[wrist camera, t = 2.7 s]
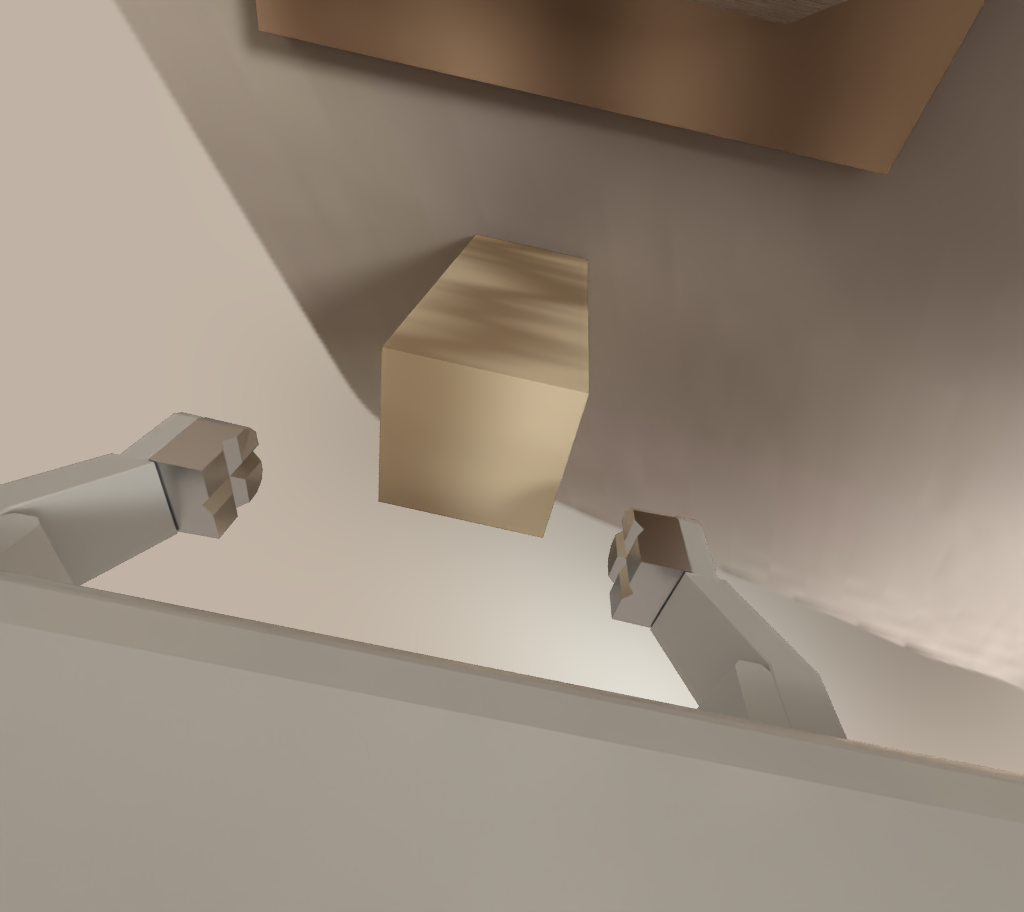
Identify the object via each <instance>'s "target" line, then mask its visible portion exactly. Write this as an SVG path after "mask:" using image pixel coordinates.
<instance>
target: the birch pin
mask: <svg viewBox="0 0 1024 912" xmlns="http://www.w3.org/2000/svg"><path fill="white" fill-rule="evenodd" d="M588 395H589V346H588V260H587V259H583V258H578V257H574V256H570V255H565V254H561V253H556V252H552V251H548V250H543V249H539V248H534V247H530V246H526V245H521V244H517V243H512V242H508V241H504V240H499V239H495V238H490V237H486V236H482V235H477V234H476V235H475V236H474V238H473V239H472V240H471V241H470V242H469V244H468V245H467V246H466V247H465V248H464V249H463V251H462V252H461V253H460V254H459V255H458V257H457V258H456V259H455V260H454V261H453V263H452V264H451V265H450V266H449V267H448V269H447V270H446V271H445V272H444V273H443V275H442V276H441V277H440V278H439V279H438V281H437V282H436V283H435V284H434V285H433V287H432V288H431V289H430V290H429V291H428V292H427V294H426V295H425V296H424V297H423V298H422V300H421V301H420V302H419V303H418V304H417V306H416V307H415V308H414V309H413V310H412V312H411V313H410V314H409V315H408V316H407V318H406V319H405V320H404V321H403V322H402V324H401V325H400V326H399V327H398V328H397V329H396V331H395V332H394V333H393V334H392V335H391V337H390V338H389V339H388V340H387V341H386V343H385V344H384V345H383V346H382V358H381V406H380V454H379V457H380V458H379V502H383V503H388V504H393V505H397V506H402V507H406V508H411V509H415V510H419V511H424V512H429V513H433V514H438V515H442V516H447V517H451V518H456V519H460V520H465V521H469V522H474V523H478V524H483V525H487V526H492V527H496V528H501V529H505V530H510V531H515V532H519V533H524V534H528V535H532V536H537V537H543V536H544V532H545V529H546V526H547V523H548V520H549V517H550V514H551V511H552V508H553V505H554V501H555V498H556V495H557V492H558V489H559V486H560V483H561V480H562V476H563V473H564V470H565V467H566V464H567V461H568V458H569V455H570V451H571V448H572V445H573V442H574V439H575V436H576V433H577V430H578V426H579V423H580V420H581V417H582V414H583V411H584V408H585V405H586V401H587V398H588Z"/></svg>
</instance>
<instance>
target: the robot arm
mask: <svg viewBox="0 0 1024 912" xmlns="http://www.w3.org/2000/svg"><path fill="white" fill-rule="evenodd" d="M257 446H258V440H257V435H256V432H255V431H254V430H252V429H251V428H248V427H245V426H240V425H236V424H232V423H228V422H223V421H219V420H215V419H210V418H206V417H205V418H203V417H200V416H196V415H192V414H187V413H182V412H181V413H175V414H173V415H171V416H170V417H169V418H167V419H166V420H165V421H163V422H162V423H161V424H159V425H158V426H157V427H155V428H154V429H153V430H151V431H150V432H149V433H147V434H146V435H145V436H143V437H142V438H141V439H140V440H138V441H137V442H136V443H134V444H133V445H132V446H130V447H129V448H128V449H126V450H125V451H124V452H122V453H121V454H120V455H118V454H112V453H111V454H107V455H104V456H100V457H97V458H93V459H90V460H86V461H83V462H79V463H75V464H72V465H69V466H65V467H61V468H58V469H54V470H51V471H47V472H44V473H40V474H37V475H33V476H30V477H26V478H23V479H19V480H16V481H12V482H9V483H5V484H1V485H0V912H1024V774H1020V773H1014V772H1009V771H1004V770H999V769H994V768H989V767H983V766H979V765H974V764H969V763H964V762H959V761H953V760H948V759H943V758H938V757H933V756H928V755H923V754H918V753H913V752H908V751H903V750H898V749H893V748H888V747H883V746H878V745H873V744H868V743H863V742H858V741H852V740H848V739H847V738H846V735H845V733H844V731H843V728H842V726H841V724H840V722H839V719H838V717H837V714H836V712H835V710H834V707H833V705H832V703H831V700H830V698H829V696H828V693H827V691H826V689H825V686H824V684H823V682H822V679H821V677H820V675H819V674H818V673H817V672H816V671H815V670H814V669H813V668H812V667H811V666H810V665H809V664H808V663H807V662H806V661H805V660H804V659H803V658H802V657H801V656H800V655H799V654H798V653H797V652H796V651H795V650H794V649H793V648H792V647H791V646H790V645H789V644H788V643H787V642H786V641H785V640H784V639H783V638H782V637H781V636H780V635H779V634H778V633H777V632H776V631H775V630H774V629H773V628H772V627H771V626H770V625H769V624H768V623H767V622H766V621H765V620H764V619H763V618H762V617H761V616H760V615H759V614H758V613H757V612H756V611H755V610H754V609H753V608H752V607H751V606H750V605H749V604H748V603H747V602H746V601H745V600H744V599H743V598H742V597H741V596H740V595H739V594H738V593H737V592H736V591H735V590H734V589H733V588H732V587H731V586H730V585H729V584H728V583H727V582H726V581H725V580H721V579H718V576H717V573H716V570H715V566H714V563H713V560H712V557H711V554H710V551H709V547H708V544H707V541H706V538H705V535H704V532H703V529H702V525H701V523H700V522H699V521H698V520H692V519H687V518H682V517H676V516H675V517H673V516H668V515H664V514H659V513H654V512H649V511H644V510H639V509H634V508H629V509H628V510H627V511H626V513H625V515H624V517H623V519H622V526H623V531H621V532H620V533H618V534H616V535H615V538H614V540H613V542H612V545H611V549H610V553H609V558H608V575H609V577H610V579H611V580H612V581H613V582H614V585H613V587H612V589H611V591H610V601H611V614H612V619H615V620H620V621H624V622H628V623H632V624H637V625H641V626H646V627H650V628H651V631H652V633H653V634H654V636H655V637H656V639H657V641H658V642H659V644H660V646H661V647H662V649H663V650H664V652H665V653H666V655H667V657H668V658H669V660H670V661H671V663H672V664H673V666H674V668H675V669H676V671H677V672H678V674H679V675H680V677H681V678H682V680H683V682H684V683H685V685H686V686H687V688H688V689H689V691H690V693H691V694H692V696H693V697H694V698H695V700H696V702H697V704H698V705H699V707H698V708H697V709H693V708H689V707H684V706H678V705H674V704H669V703H663V702H659V701H654V700H649V699H644V698H638V697H634V696H629V695H624V694H618V693H614V692H609V691H604V690H598V689H594V688H589V687H584V686H579V685H574V684H568V683H564V682H559V681H554V680H549V679H543V678H539V677H534V676H529V675H524V674H518V673H514V672H508V671H504V670H499V669H493V668H489V667H483V666H478V665H473V664H468V663H463V662H458V661H453V660H448V659H443V658H438V657H433V656H428V655H423V654H418V653H413V652H408V651H403V650H398V649H393V648H388V647H383V646H378V645H373V644H368V643H363V642H358V641H353V640H348V639H344V638H338V637H333V636H328V635H323V634H319V633H314V632H308V631H304V630H298V629H293V628H289V627H284V626H279V625H274V624H268V623H264V622H259V621H254V620H248V619H243V618H239V617H234V616H229V615H224V614H218V613H214V612H209V611H204V610H199V609H194V608H189V607H183V606H178V605H174V604H169V603H163V602H158V601H154V600H148V599H144V598H139V597H134V596H129V595H124V594H119V593H114V592H109V591H103V590H99V589H94V588H89V587H84V586H80V585H82V584H83V583H85V582H87V581H89V580H91V579H93V578H95V577H97V576H98V575H100V574H102V573H104V572H106V571H108V570H109V569H112V568H113V567H115V566H117V565H119V564H121V563H123V562H125V561H127V560H128V559H130V558H132V557H134V556H136V555H138V554H139V553H142V552H143V551H145V550H147V549H149V548H151V547H153V546H155V545H157V544H158V543H160V542H162V541H164V540H166V539H168V538H170V537H172V536H173V535H175V534H177V531H179V532H185V533H190V534H196V535H201V536H207V537H213V538H220V537H221V536H222V535H223V533H224V532H225V531H226V530H227V529H228V527H229V526H230V525H231V524H232V523H233V521H234V520H235V519H236V518H237V517H238V516H237V510H236V508H237V507H239V506H241V505H244V504H246V503H248V502H250V501H251V499H252V498H253V497H254V495H255V494H256V493H257V490H258V488H259V486H260V483H261V480H262V464H261V460H260V459H259V458H258V457H257V456H256V454H255V453H254V452H253V450H254V449H255V448H256V447H257Z"/></svg>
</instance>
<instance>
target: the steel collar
mask: <svg viewBox="0 0 1024 912" xmlns="http://www.w3.org/2000/svg"><path fill="white" fill-rule="evenodd" d="M679 1H683V2H688V3H692V4H696V5H701V6H705V7H709V8H714V9H718V10H722V11H726V12H731V13H735V14H739V15H744V16H748V17H752V18H756V19H761V20H765V21H769V22H774V23H778V24H782V25H786V24H788V23H791V22H793V21H796V20H799V19H801V18H804V17H806V16H809V15H811V14H814V13H816V12H819V11H821V10H824V9H826V8H829V7H831V6H834V5H837V4H839V3H842V2H844V1H847V0H679Z"/></svg>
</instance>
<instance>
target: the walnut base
mask: <svg viewBox="0 0 1024 912" xmlns="http://www.w3.org/2000/svg"><path fill="white" fill-rule="evenodd" d="M985 1H986V0H847V1H844V2H842V3H839V4H837V5H834V6H831V7H829V8H826V9H824V10H821V11H819V12H816V13H814V14H811V15H809V16H806V17H804V18H801V19H799V20H796V21H793V22H791V23H788V24H786V25H782V24H778V23H774V22H769V21H765V20H761V19H756V18H752V17H748V16H744V15H739V14H735V13H731V12H726V11H722V10H718V9H714V8H709V7H705V6H701V5H696V4H692V3H688V2H683V1H679V0H256V10H257V20H258V30H259V31H263V32H268V33H272V34H276V35H281V36H285V37H290V38H294V39H298V40H303V41H307V42H311V43H316V44H320V45H324V46H329V47H333V48H337V49H342V50H346V51H350V52H355V53H359V54H363V55H368V56H372V57H376V58H381V59H385V60H389V61H394V62H398V63H402V64H407V65H411V66H415V67H420V68H424V69H428V70H433V71H437V72H441V73H446V74H450V75H455V76H459V77H463V78H468V79H472V80H476V81H481V82H485V83H489V84H494V85H498V86H502V87H507V88H511V89H515V90H520V91H524V92H528V93H533V94H537V95H541V96H546V97H550V98H554V99H559V100H563V101H567V102H572V103H576V104H580V105H585V106H589V107H593V108H598V109H602V110H607V111H611V112H615V113H620V114H624V115H628V116H633V117H637V118H641V119H646V120H650V121H654V122H659V123H663V124H667V125H672V126H676V127H680V128H685V129H689V130H693V131H698V132H702V133H706V134H711V135H715V136H719V137H724V138H728V139H732V140H737V141H741V142H745V143H750V144H754V145H758V146H763V147H767V148H772V149H776V150H780V151H785V152H789V153H793V154H798V155H802V156H806V157H811V158H815V159H819V160H824V161H828V162H832V163H837V164H841V165H845V166H850V167H854V168H858V169H863V170H867V171H871V172H876V173H880V174H884V175H887V173H888V172H889V170H890V168H891V166H892V165H893V163H894V161H895V159H896V158H897V156H898V154H899V152H900V151H901V149H902V147H903V145H904V144H905V142H906V140H907V138H908V137H909V135H910V133H911V131H912V129H913V128H914V126H915V124H916V122H917V121H918V119H919V117H920V115H921V114H922V112H923V110H924V108H925V107H926V105H927V103H928V101H929V100H930V98H931V96H932V94H933V93H934V91H935V89H936V87H937V86H938V84H939V82H940V80H941V79H942V77H943V75H944V73H945V72H946V70H947V68H948V66H949V64H950V63H951V61H952V59H953V57H954V56H955V54H956V52H957V50H958V49H959V47H960V45H961V43H962V42H963V40H964V38H965V36H966V35H967V33H968V31H969V29H970V28H971V26H972V24H973V22H974V21H975V19H976V17H977V15H978V14H979V12H980V10H981V8H982V6H983V5H984V3H985Z"/></svg>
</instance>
